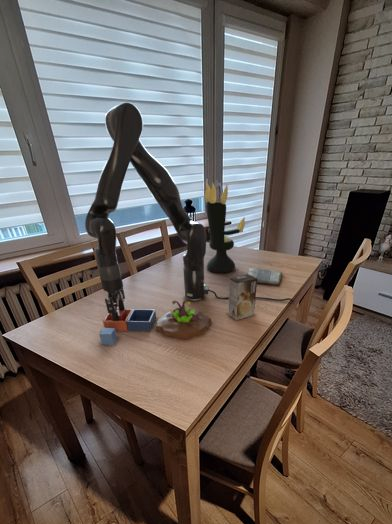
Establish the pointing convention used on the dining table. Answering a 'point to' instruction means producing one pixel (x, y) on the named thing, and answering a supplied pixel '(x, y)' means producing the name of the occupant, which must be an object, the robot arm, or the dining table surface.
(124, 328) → the terracotta bin
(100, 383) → the dining table surface
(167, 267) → the dining table surface
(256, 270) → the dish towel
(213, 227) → the candelabra
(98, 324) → the dining table surface
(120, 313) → the brick block
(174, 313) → the plant
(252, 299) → the coffee box
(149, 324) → the slate bin
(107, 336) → the blue block
